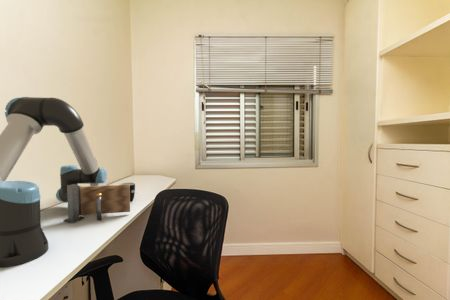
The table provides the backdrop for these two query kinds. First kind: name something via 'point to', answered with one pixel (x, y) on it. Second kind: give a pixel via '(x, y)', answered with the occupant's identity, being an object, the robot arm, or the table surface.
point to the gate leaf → (104, 199)
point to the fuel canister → (105, 180)
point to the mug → (132, 190)
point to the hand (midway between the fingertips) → (120, 201)
